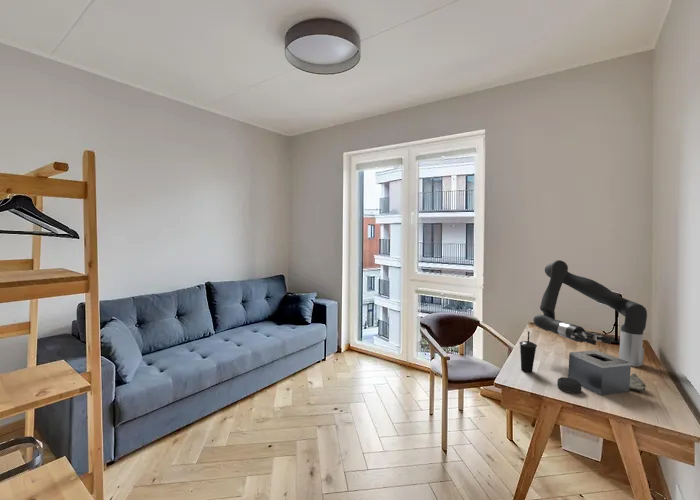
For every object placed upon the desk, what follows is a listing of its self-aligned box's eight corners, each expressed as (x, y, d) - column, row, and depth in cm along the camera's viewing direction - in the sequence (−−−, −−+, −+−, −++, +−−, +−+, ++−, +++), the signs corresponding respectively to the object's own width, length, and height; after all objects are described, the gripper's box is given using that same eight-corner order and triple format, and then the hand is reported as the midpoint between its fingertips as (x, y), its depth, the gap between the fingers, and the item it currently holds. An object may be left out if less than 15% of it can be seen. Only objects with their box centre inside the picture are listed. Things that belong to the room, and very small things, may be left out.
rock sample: (610, 374, 156) (630, 365, 152) (619, 383, 158) (638, 375, 154) (624, 393, 147) (644, 384, 143) (633, 402, 149) (653, 394, 145)
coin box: (594, 376, 163) (595, 350, 162) (628, 391, 147) (631, 362, 147) (567, 379, 159) (569, 352, 158) (600, 395, 143) (602, 365, 142)
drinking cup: (533, 369, 170) (535, 330, 169) (536, 375, 163) (539, 334, 161) (517, 366, 172) (519, 328, 171) (519, 372, 165) (521, 332, 164)
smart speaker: (554, 389, 148) (555, 380, 148) (560, 383, 155) (560, 374, 154) (578, 396, 142) (578, 387, 142) (583, 390, 148) (583, 381, 148)
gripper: (559, 324, 164) (591, 334, 148) (582, 323, 168) (615, 333, 152) (558, 339, 165) (590, 351, 149) (581, 338, 168) (614, 349, 153)
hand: (603, 342), depth 151 cm, fingers open, 8 cm apart
